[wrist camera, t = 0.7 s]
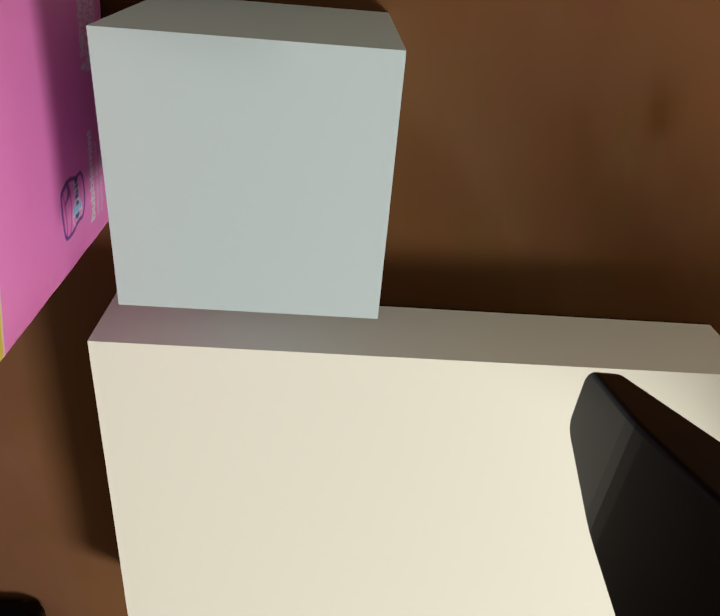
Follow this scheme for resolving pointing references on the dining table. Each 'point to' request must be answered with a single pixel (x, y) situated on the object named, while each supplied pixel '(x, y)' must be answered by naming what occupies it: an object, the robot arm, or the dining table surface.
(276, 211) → the light gray cube
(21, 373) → the dining table surface
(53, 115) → the gum box
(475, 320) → the painted board
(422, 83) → the dining table surface
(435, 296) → the dining table surface
